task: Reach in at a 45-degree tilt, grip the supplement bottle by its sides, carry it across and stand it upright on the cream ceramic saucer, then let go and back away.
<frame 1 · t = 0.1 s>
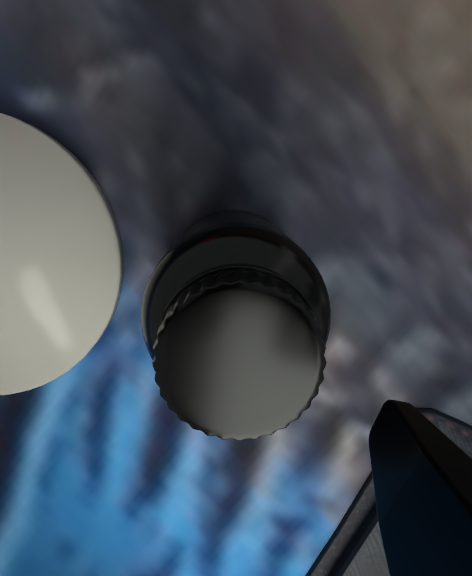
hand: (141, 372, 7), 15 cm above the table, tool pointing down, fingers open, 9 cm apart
dark grey flat block: (425, 556, 29), on the table
supplement bottle: (232, 272, 23), on the table
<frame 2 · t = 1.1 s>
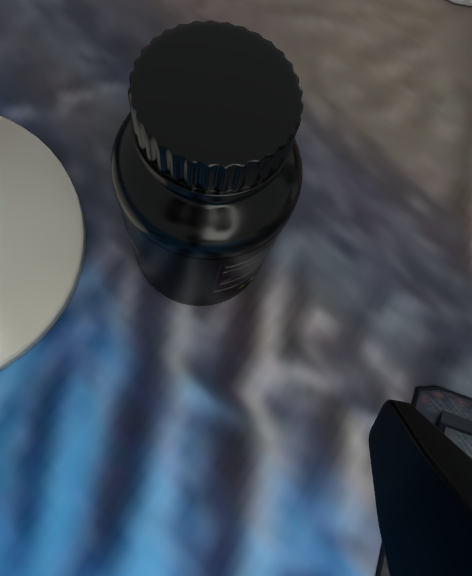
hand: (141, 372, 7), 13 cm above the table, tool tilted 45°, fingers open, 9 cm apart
supplement bottle: (199, 250, 23), on the table
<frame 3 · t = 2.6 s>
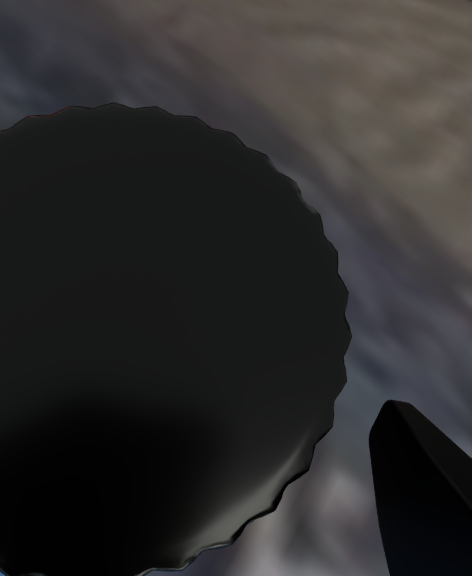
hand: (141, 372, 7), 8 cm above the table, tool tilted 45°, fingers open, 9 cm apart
supplement bottle: (165, 383, 16), on the table
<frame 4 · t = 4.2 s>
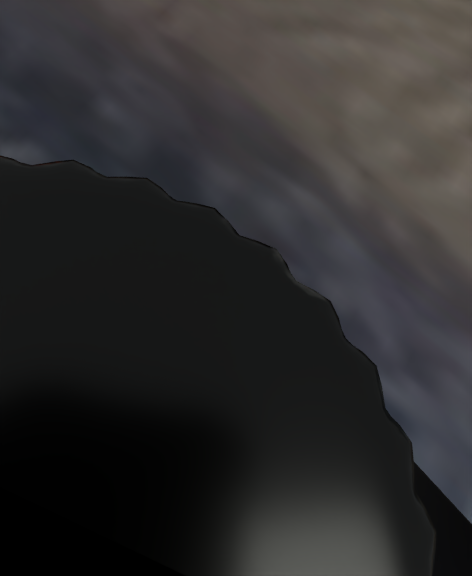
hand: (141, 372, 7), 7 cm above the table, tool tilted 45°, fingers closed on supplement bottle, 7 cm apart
supplement bottle: (151, 433, 13), on the table, touching gripper
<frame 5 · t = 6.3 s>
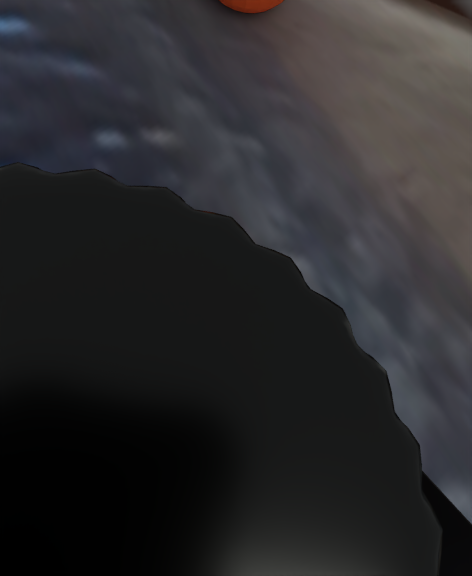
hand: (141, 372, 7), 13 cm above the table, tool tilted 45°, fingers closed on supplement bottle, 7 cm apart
supplement bottle: (149, 431, 14), point 6 cm above the table, touching gripper
when the fingers open (9 cm above the table, at t = 8.6 s): supplement bottle stays where it is, resting on saucer.
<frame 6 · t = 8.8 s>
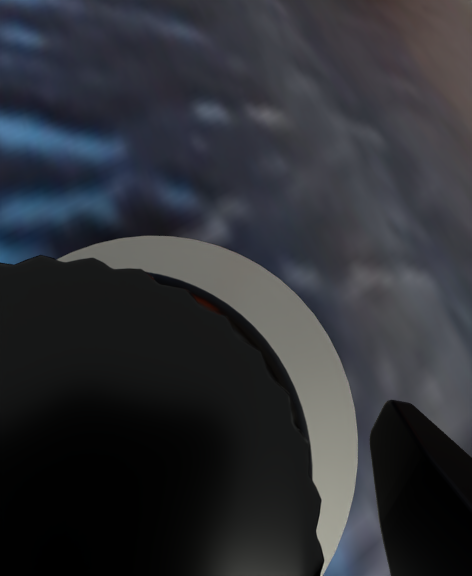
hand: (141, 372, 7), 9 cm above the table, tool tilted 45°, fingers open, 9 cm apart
supplement bottle: (150, 434, 15), point 1 cm above the table, touching saucer
saucer: (156, 429, 16), on the table
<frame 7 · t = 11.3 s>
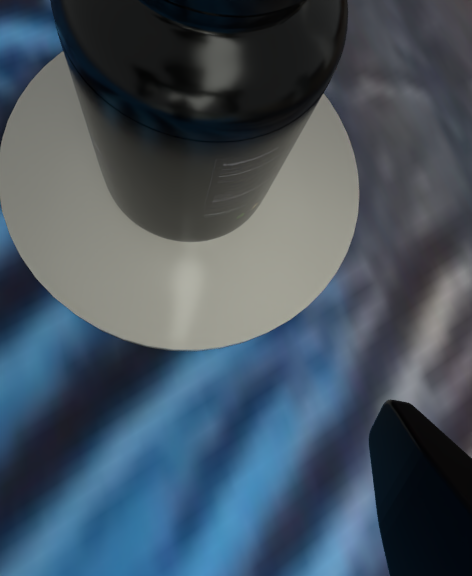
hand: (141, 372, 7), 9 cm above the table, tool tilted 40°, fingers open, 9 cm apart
supplement bottle: (187, 173, 18), point 1 cm above the table, touching saucer
saucer: (189, 182, 19), on the table
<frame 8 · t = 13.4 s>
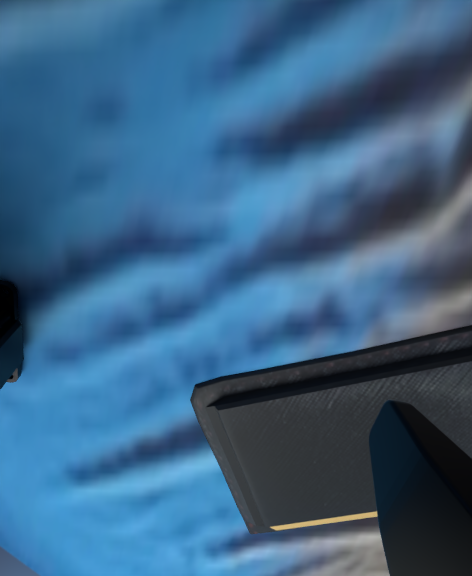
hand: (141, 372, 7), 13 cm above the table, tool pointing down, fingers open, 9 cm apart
dark grey flat block: (365, 432, 27), on the table
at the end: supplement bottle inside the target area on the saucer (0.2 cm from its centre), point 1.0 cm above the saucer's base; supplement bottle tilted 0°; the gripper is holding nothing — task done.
